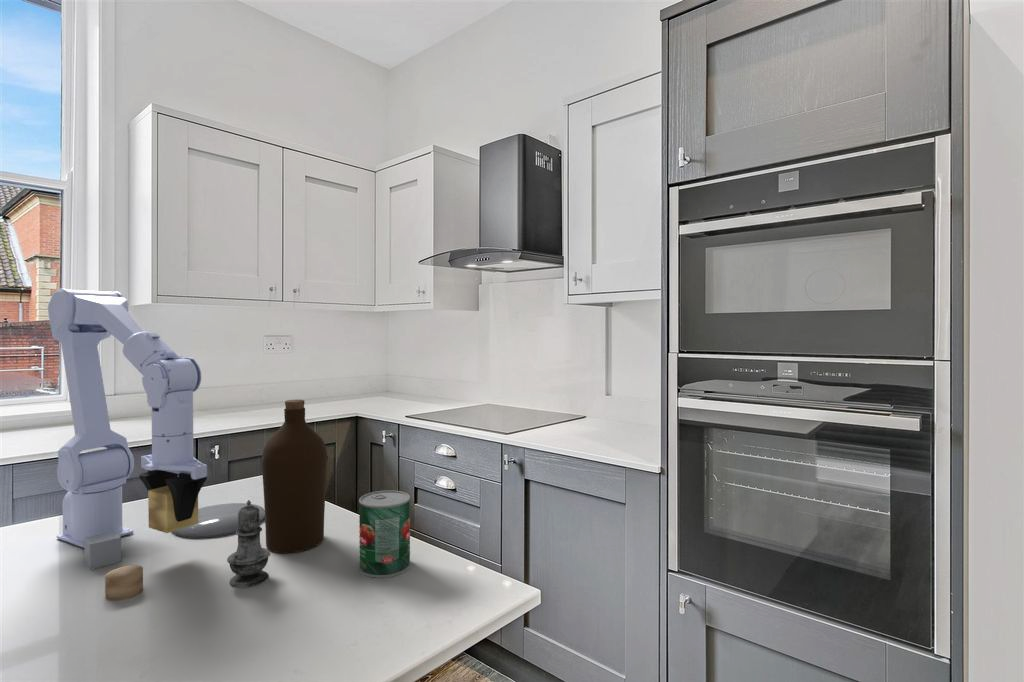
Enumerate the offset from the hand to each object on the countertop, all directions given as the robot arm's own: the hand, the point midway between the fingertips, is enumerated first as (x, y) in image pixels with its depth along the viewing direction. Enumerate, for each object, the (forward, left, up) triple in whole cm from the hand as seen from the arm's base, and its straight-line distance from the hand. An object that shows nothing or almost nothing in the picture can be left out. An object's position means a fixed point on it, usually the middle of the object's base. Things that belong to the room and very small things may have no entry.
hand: (173, 516), depth 89 cm
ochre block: (0, 0, -1) cm, 1 cm away
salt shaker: (+17, +1, -7) cm, 19 cm away
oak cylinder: (+5, -10, -7) cm, 13 cm away
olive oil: (+12, +14, -7) cm, 20 cm away
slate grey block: (-9, -6, -7) cm, 13 cm away
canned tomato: (+32, +14, -7) cm, 36 cm away
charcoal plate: (-9, +14, -7) cm, 18 cm away
